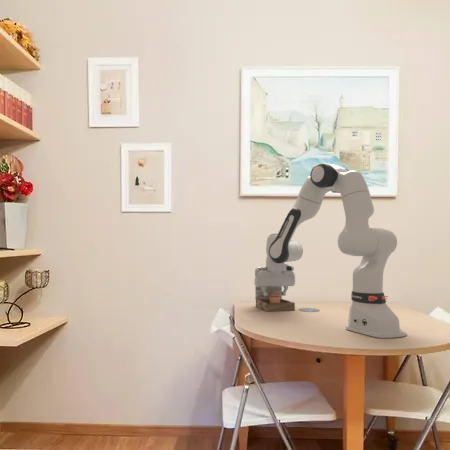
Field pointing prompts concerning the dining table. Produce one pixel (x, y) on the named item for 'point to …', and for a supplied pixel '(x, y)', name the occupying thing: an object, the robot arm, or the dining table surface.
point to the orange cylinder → (274, 298)
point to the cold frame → (264, 301)
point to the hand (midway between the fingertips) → (274, 295)
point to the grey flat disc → (309, 310)
